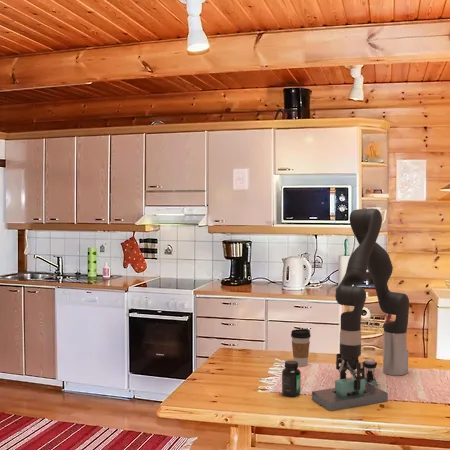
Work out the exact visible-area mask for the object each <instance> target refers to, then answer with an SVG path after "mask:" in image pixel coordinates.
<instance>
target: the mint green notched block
mask: <svg viewBox="0 0 450 450" xmlns="http://www.w3.org/2000/svg"><path fill="white" fill-rule="evenodd" d="M334 388H335V390H336V394H337V395H339V396H341V397H345V396H347V392H355V393H357V394H364V390H365V380H364V379H362V380H361V382H360V390H358V391H355V390H354V377H346V379H340V378H339V379H335V380H334Z"/></svg>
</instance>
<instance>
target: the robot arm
mask: <svg viewBox="0 0 450 450" xmlns="http://www.w3.org/2000/svg"><path fill="white" fill-rule="evenodd" d="M349 224H350V227H351V230H352V232H353V235H354V237H355V238H356V241H357V243H358V246H356V248H355V249H354V251H352V253H351V254H350V256H349V258H348V261H347V266H346V270H345V274H344V275H343V277H342V280H341V281H340V283H339V284H338V287H337V289H336V291H335V297H334V298H335V301H336V303H337V304H339V305H340V306H349V307H353V310H351V311H344V312H342V313H341V314H340V329H339V330H340V332H339V353H336V358H335V360H336V361H335V369H336V370H338V374H339V379H346V378H347V371H348V372H349V371H350V372H349V373H350V375H352V376H353V377H354V390H355V391H358V390H360V382H361V380H362V379H365V364H364V361H363V362H362V361H359V357H361V354H362V332H361V331H362V329H361V327H362V326H361V324H362V323H361V321H362V313H363V310H364V306H365V303H366V299H367V292H366V290H365V288H364V287H361V286H357V284H358V285H359V284H361V283H364V281H365V279H366V275H367V270H368V272H369V274H370V278H371V280H372V282H373V285H374V289H375V292H376V296H377V300H378V305H379V308H380V310H381V312H383V313H384V314H386V315H391V316H392V315H393V316H395V318H394V320H392V321H388V322H385V323H384V324H383V341H382V342H383V345H382V347H383V348H382V350H383V351H382V352H383V353H382V372H383V374H386V375H388V376H389V375H390V376H404V375H406V374H408V373H409V352H410V351H409V349H407V347H408V345H407V343H408V342H407V339H408V338H407V335H408V334H407V333H408V326H409V314H410V313H409V311H410V298H409V297H408V296H409V295H407V294H406V293H402V292H395V291H391V290H390V289H389V287H388V282H389V280H390V278H391V276H392V274H393V269H394V268H393V264H392V261H391V258H390V255H389V253H388V251H387V250H386V249H385V248H384V247H382V245H380V244H379V243H378V242H377V240H378V237H379V235H380V231H381V229H382V224H383V217H382V213H381V210H380V209H378V208H359V209H354V210H352V211H350V215H349ZM355 285H356V286H355ZM353 377H352V378H353Z"/></svg>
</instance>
